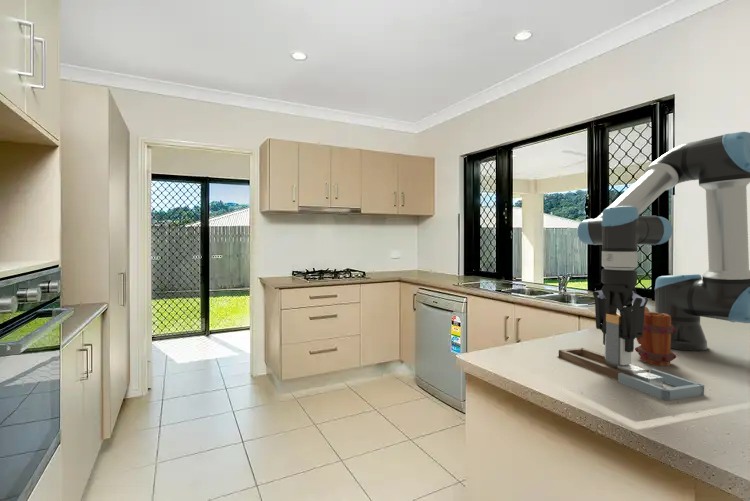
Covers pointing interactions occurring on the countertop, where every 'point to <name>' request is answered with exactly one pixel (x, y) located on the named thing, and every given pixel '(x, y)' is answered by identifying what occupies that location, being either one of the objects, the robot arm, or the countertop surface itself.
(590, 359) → the slot board
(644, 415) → the countertop surface
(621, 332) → the grey and tan block
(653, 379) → the chip
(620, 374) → the tray
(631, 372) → the chip
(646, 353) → the mug
